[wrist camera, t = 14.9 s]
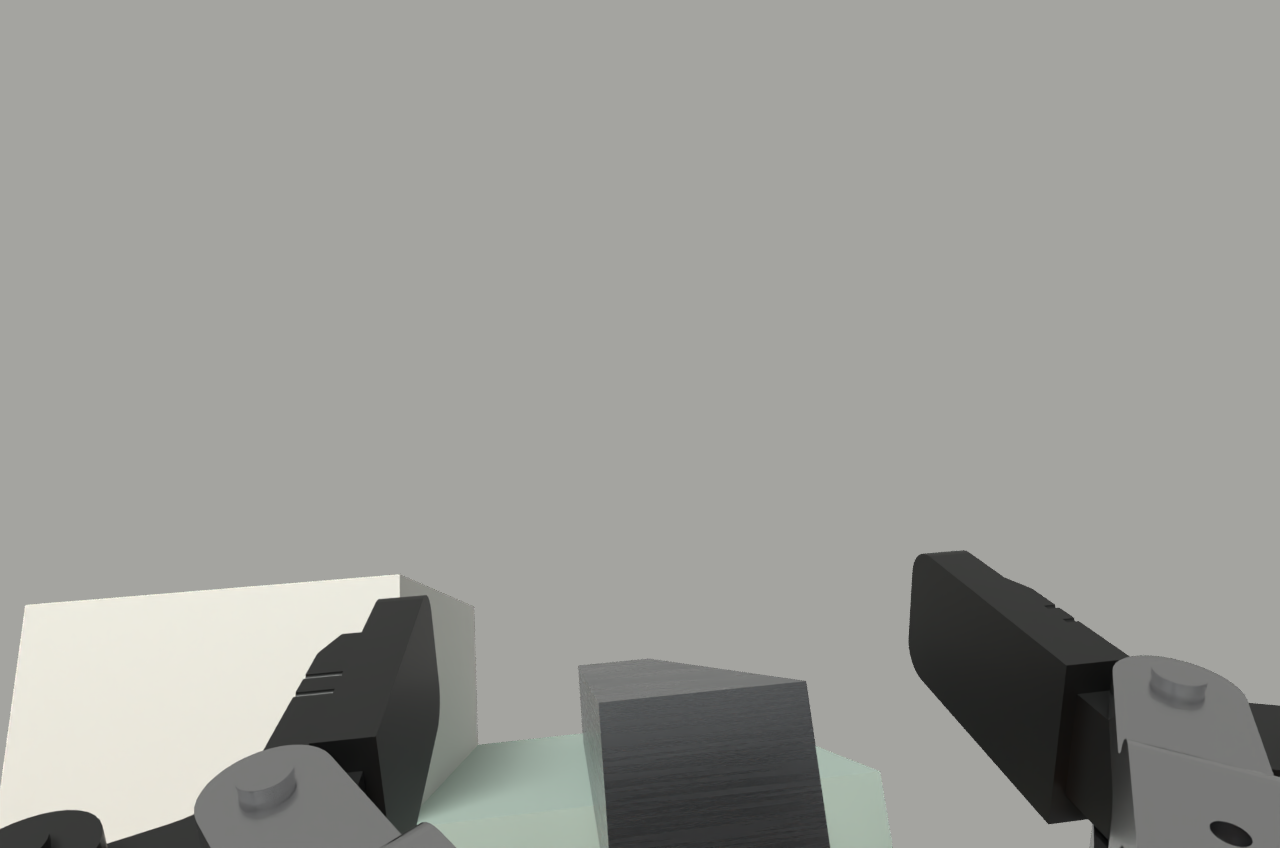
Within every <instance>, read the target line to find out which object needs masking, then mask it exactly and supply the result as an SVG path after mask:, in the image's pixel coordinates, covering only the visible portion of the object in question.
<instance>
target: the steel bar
mask: <svg viewBox="0 0 1280 848" xmlns="http://www.w3.org/2000/svg"><path fill="white" fill-rule="evenodd" d="M578 669H579V684H580V700H581V713H582V731H583V744H584V750H585V756H586V763H587V769H588V775H589V782H590V788H591V795H592V801H593V807H594V814H595V820H596V826H597V833H598V839H599V845H600V848H830V842H829V835H828V828H827V822H826V815H825V808H824V801H823V794H822V787H821V780H820V774H819V767H818V760H817V753H816V746H815V739H814V733H813V727H812V719H811V712H810V705H809V698H808V691H807V684H806V681H802V680H795V679H788V678H780V677H773V676H766V675H760V674H752V673H745V672H738V671H731V670H724V669H717V668H710V667H703V666H695V665H689V664H682V663H675V662H668V661H661V660H654V659H641V660H631V661H621V662H612V663H601V664H590V665H580V666H578Z"/></svg>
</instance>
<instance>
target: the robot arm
mask: <svg viewBox="0 0 1280 848" xmlns="http://www.w3.org/2000/svg"><path fill="white" fill-rule="evenodd" d="M912 574H913V575H912V590H911V608H910V626H909V650H910V655H911V659H912V663H913V665H914V668H915V670H916V672H917V674H918V675H919V677H920V678H921V680H922V681H923V682H924V683H925V684H926V685H927V687H928V688H929V689H930V690H931V691H932V692H933V693H934V694H935V696H936V697H937V698H938V699H939V700H940V701H941V702H942V704H943V705H944V706H945V707H946V708H947V709H948V710H949V712H950V713H951V714H952V715H953V716H954V717H955V718H956V720H957V721H958V722H959V723H960V724H961V725H962V726H963V727H964V729H965V730H966V731H967V732H968V733H969V734H970V735H971V737H972V738H973V739H974V740H975V741H976V742H977V743H978V745H979V746H980V747H981V748H982V749H983V750H984V751H985V752H986V754H987V755H988V756H989V757H990V758H991V759H992V760H993V762H994V763H995V764H996V765H997V766H998V767H999V768H1000V770H1001V771H1002V772H1003V773H1004V774H1005V775H1006V776H1007V777H1008V779H1009V780H1010V781H1011V782H1012V783H1013V784H1014V785H1015V787H1016V788H1017V789H1018V790H1019V791H1020V792H1021V793H1022V795H1023V796H1024V797H1025V798H1026V799H1027V800H1028V801H1029V803H1030V804H1031V805H1032V806H1033V807H1034V808H1035V809H1036V811H1037V812H1038V813H1039V814H1040V815H1041V816H1042V817H1043V818H1044V820H1045V821H1046V822H1047V823H1048V824H1054V823H1061V822H1069V821H1077V820H1084V819H1089V820H1090V821H1091V822H1092V824H1093V825H1092V833H1091V840H1090V848H1280V706H1276V705H1265V704H1253V703H1248V701H1247V699H1246V697H1245V695H1244V694H1243V693H1242V691H1241V690H1240V689H1239V688H1238V687H1236V686H1235V685H1234V684H1233V683H1231V682H1230V681H1228V680H1227V679H1225V678H1223V677H1222V676H1220V675H1218V674H1216V673H1214V672H1212V671H1209V670H1207V669H1205V668H1202V667H1200V666H1197V665H1194V664H1191V663H1188V662H1184V661H1180V660H1176V659H1172V658H1166V657H1159V656H1131V657H1129V656H1128V655H1126V654H1125V653H1124V652H1122V651H1121V650H1119V649H1118V648H1117V647H1115V646H1114V645H1112V644H1111V643H1109V642H1108V641H1106V640H1105V639H1104V638H1102V637H1101V636H1099V635H1098V634H1096V633H1095V632H1093V631H1092V630H1091V629H1089V628H1087V627H1086V626H1085V625H1083V624H1082V623H1080V622H1079V621H1077V622H1075V621H1074V618H1073V617H1072V616H1070V615H1069V614H1068V613H1066V612H1065V611H1063V610H1062V609H1060V608H1055V604H1053V603H1052V602H1050V601H1049V600H1047V599H1046V598H1044V597H1043V596H1042V595H1040V594H1039V593H1037V592H1036V591H1034V590H1033V589H1031V588H1029V587H1026V586H1024V585H1021V584H1019V583H1016V582H1014V581H1011V580H1009V579H1007V578H1004V577H1003V576H1001V575H1000V574H999V573H997V572H996V571H994V570H993V569H991V568H990V567H988V566H987V565H986V564H984V563H983V562H982V561H980V560H979V559H977V558H976V557H975V556H973V555H972V554H970V553H969V552H967V551H964V550H963V551H951V552H939V553H927V554H921V555H919V556H918V557H917V558H916V560H915V562H914V566H913V573H912ZM295 693H296V695H295V697H293V698H292V700H291V701H290V703H289V705H288V707H287V709H286V710H285V712H284V714H283V716H282V717H281V719H280V721H279V723H278V725H277V726H276V728H275V730H274V732H273V734H272V735H271V737H270V739H269V741H268V743H267V744H266V746H265V748H264V750H263V751H260V752H257V753H255V754H252V755H250V756H247V757H245V758H243V759H241V760H239V761H237V762H235V763H234V764H232V765H231V766H229V767H227V768H226V769H224V770H223V771H222V772H220V773H219V774H218V775H216V776H215V777H214V778H213V779H212V780H211V781H210V782H209V783H208V784H207V785H206V786H205V787H204V789H203V790H202V791H201V793H200V794H199V796H198V798H197V800H196V803H195V806H194V814H193V815H191V816H188V817H186V818H184V819H181V820H179V821H176V822H173V823H170V824H167V825H164V826H161V827H158V828H155V829H151V830H148V831H145V832H142V833H139V834H136V835H133V836H129V837H126V838H123V839H120V840H117V841H114V842H111V843H106V838H105V834H104V830H103V826H102V823H101V821H100V819H99V818H97V817H96V816H95V815H94V814H91V813H89V812H86V811H81V810H62V811H54V812H49V813H43V814H40V815H36V816H33V817H29V818H26V819H23V820H21V821H18V822H15V823H12V824H10V825H8V826H6V827H3V828H1V829H0V848H456V847H455V846H454V845H453V844H452V843H451V842H450V841H449V840H448V839H447V838H446V837H445V836H444V834H443V833H442V832H441V831H440V830H438V829H437V828H436V827H435V826H434V825H432V824H430V823H428V822H421V823H420V824H418V825H417V821H418V816H419V812H420V807H421V803H422V798H423V794H424V789H425V785H426V780H427V776H428V771H429V766H430V762H431V757H432V753H433V748H434V744H435V739H436V735H437V730H438V725H439V715H440V689H439V678H438V668H437V659H436V650H435V640H434V631H433V622H432V612H431V606H430V601H429V598H428V596H427V595H421V596H409V597H397V598H385V599H378V600H377V601H376V603H375V605H374V607H373V609H372V611H371V613H370V616H369V618H368V620H367V622H366V624H365V626H364V628H363V630H362V632H358V633H347V634H341V635H340V636H339V637H337V638H336V639H335V640H334V641H332V642H331V643H330V644H329V645H327V646H326V647H325V648H323V649H322V650H321V651H320V652H318V653H317V655H316V657H315V658H314V660H313V662H312V664H311V666H310V667H309V669H308V671H307V673H306V677H305V679H303V680H302V682H301V683H300V685H299V687H298V689H297V691H296V692H295Z"/></svg>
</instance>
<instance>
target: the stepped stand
mask: <svg viewBox="0 0 1280 848" xmlns="http://www.w3.org/2000/svg"><path fill="white" fill-rule="evenodd" d="M421 595H427V596H428V598H429V601H430V606H431V612H432V622H433V631H434V640H435V650H436V659H437V668H438V678H439V689H440V715H439V725H438V730H437V735H436V739H435V744H434V748H433V753H432V757H431V762H430V766H429V771H428V776H427V780H426V785H425V789H424V794H423V798H422V803H421V807H420V812H419V816H418V821H417V825H418V824H420V823H421V822H428V823H430V824H432V825H434V826H435V827H436V828H437V829H438V830H440V831H441V832H442V833H443V834H444V836H445V837H446V838H447V839H448V840H449V841H450V842H451V843H452V844H453V845H454V846H455V847H456V848H600V845H599V839H598V833H597V826H596V820H595V814H594V807H593V801H592V795H591V788H590V782H589V775H588V769H587V763H586V756H585V750H584V744H583V734H574V735H566V736H556V737H547V738H538V739H528V740H520V741H510V742H501V743H492V744H482V745H478V733H477V732H478V731H477V693H476V657H475V622H474V606H472V605H469V604H467V603H464V602H462V601H460V600H458V599H455V598H453V597H451V596H448V595H446V594H444V593H442V592H439V591H437V590H435V589H432V588H430V587H428V586H425V585H423V584H421V583H418V582H416V581H413V580H411V579H409V578H407V577H405V576H402V575H400V574H398V575H387V576H374V577H363V578H349V579H338V580H325V581H313V582H302V583H289V584H277V585H265V586H252V587H239V588H227V589H216V590H203V591H191V592H178V593H166V594H154V595H143V596H130V597H117V598H106V599H93V600H81V601H68V602H56V603H44V604H32V605H25V611H24V619H23V626H22V633H21V641H20V648H19V656H18V663H17V670H16V677H15V684H14V692H13V700H12V706H11V713H10V722H9V728H8V735H7V743H6V750H5V757H4V765H3V772H2V779H1V786H0V829H1V828H3V827H6V826H8V825H10V824H12V823H15V822H18V821H21V820H23V819H26V818H29V817H33V816H36V815H40V814H43V813H49V812H54V811H62V810H81V811H86V812H89V813H91V814H94V815H95V816H96V817H97V818H99V819H100V821H101V823H102V826H103V830H104V834H105V838H106V843H111V842H114V841H117V840H120V839H123V838H126V837H129V836H133V835H136V834H139V833H142V832H145V831H148V830H151V829H155V828H158V827H161V826H164V825H167V824H170V823H173V822H176V821H179V820H181V819H184V818H186V817H188V816H191V815H193V814H194V806H195V803H196V800H197V798H198V796H199V794H200V793H201V791H202V790H203V789H204V787H205V786H206V785H207V784H208V783H209V782H210V781H211V780H212V779H213V778H214V777H215V776H216V775H218V774H219V773H220V772H222V771H223V770H224V769H226V768H227V767H229V766H231V765H232V764H234V763H235V762H237V761H239V760H241V759H243V758H245V757H247V756H250V755H252V754H255V753H257V752H260V751H263V750H264V748H265V746H266V744H267V743H268V741H269V739H270V737H271V735H272V734H273V732H274V730H275V728H276V726H277V725H278V723H279V721H280V719H281V717H282V716H283V714H284V712H285V710H286V709H287V707H288V705H289V703H290V701H291V700H292V698H293V697H295V695H296V693H295V692H296V691H297V689H298V687H299V685H300V683H301V682H302V680H303V679H305V677H306V673H307V671H308V669H309V667H310V666H311V664H312V662H313V660H314V658H315V657H316V655H317V653H318V652H320V651H321V650H322V649H323V648H325V647H326V646H327V645H329V644H330V643H331V642H332V641H334V640H335V639H336V638H337V637H339V636H340V635H341V634H347V633H358V632H362V630H363V628H364V626H365V624H366V622H367V620H368V618H369V616H370V613H371V611H372V609H373V607H374V605H375V603H376V601H377V600H378V599H385V598H397V597H409V596H421ZM816 753H817V760H818V767H819V774H820V780H821V787H822V794H823V801H824V808H825V815H826V822H827V828H828V835H829V842H830V848H893V847H892V840H891V834H890V828H889V822H888V816H887V810H886V804H885V799H884V793H883V786H882V780H881V774H880V771H878V770H875V769H872V768H870V767H868V766H865V765H863V764H860V763H858V762H855V761H853V760H850V759H848V758H845V757H842V756H840V755H838V754H835V753H832V752H830V751H827V750H825V749H822V748H820V747H817V746H816Z"/></svg>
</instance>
